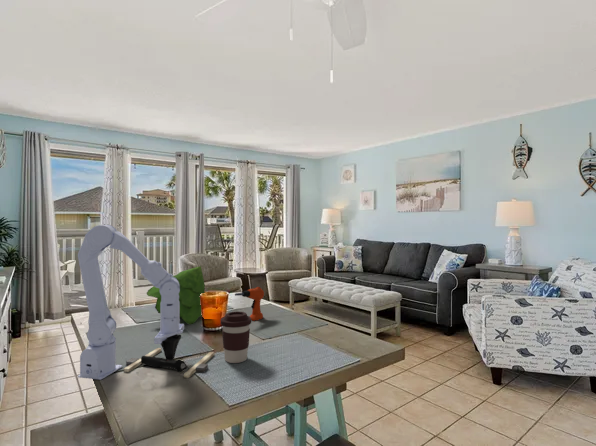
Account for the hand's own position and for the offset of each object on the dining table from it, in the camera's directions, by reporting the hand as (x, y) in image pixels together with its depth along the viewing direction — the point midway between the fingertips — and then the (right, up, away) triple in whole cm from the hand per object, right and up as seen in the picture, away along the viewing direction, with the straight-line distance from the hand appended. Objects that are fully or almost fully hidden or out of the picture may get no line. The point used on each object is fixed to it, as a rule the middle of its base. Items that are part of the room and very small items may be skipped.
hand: (170, 359), depth 117 cm
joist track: (0, -2, +1) cm, 2 cm away
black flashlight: (-1, -2, -2) cm, 3 cm away
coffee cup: (+20, -2, +4) cm, 21 cm away
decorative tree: (-15, -1, +52) cm, 54 cm away
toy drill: (+19, -1, +49) cm, 53 cm away
